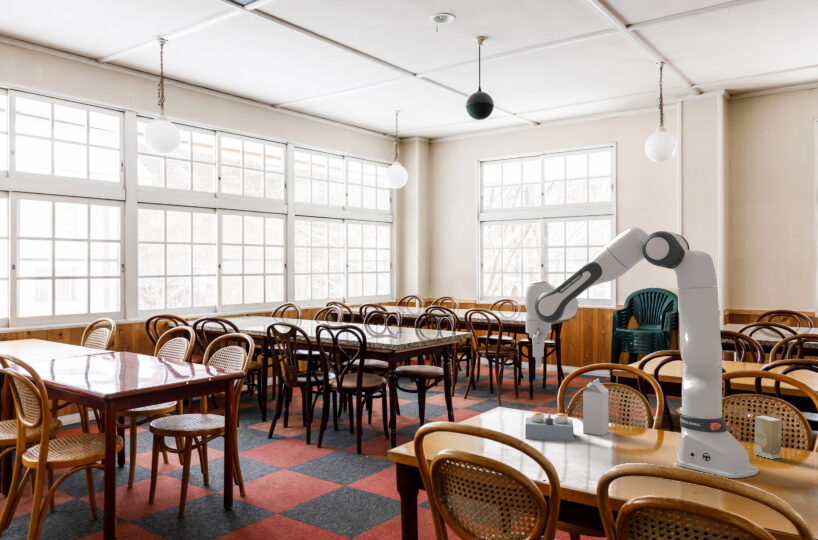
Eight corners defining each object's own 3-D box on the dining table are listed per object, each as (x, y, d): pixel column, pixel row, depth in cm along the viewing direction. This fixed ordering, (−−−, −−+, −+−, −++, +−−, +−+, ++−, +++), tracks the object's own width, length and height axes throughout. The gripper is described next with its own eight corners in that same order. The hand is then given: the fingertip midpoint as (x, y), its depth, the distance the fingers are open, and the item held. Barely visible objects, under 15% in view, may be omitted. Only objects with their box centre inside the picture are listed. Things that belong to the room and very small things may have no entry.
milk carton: (608, 431, 227) (608, 379, 227) (603, 436, 221) (603, 382, 221) (588, 429, 231) (588, 377, 231) (582, 433, 225) (583, 380, 225)
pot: (552, 423, 219) (552, 413, 219) (553, 425, 217) (553, 415, 217) (545, 422, 220) (545, 413, 220) (545, 424, 217) (545, 414, 217)
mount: (572, 433, 225) (572, 419, 225) (573, 441, 215) (573, 426, 215) (526, 431, 228) (526, 417, 228) (525, 438, 218) (525, 424, 218)
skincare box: (753, 455, 199) (753, 416, 199) (763, 453, 200) (763, 414, 200) (772, 460, 193) (772, 420, 193) (782, 459, 195) (782, 419, 195)
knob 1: (543, 433, 224) (543, 411, 224) (543, 436, 220) (543, 414, 220) (531, 432, 225) (531, 411, 225) (530, 436, 220) (530, 414, 221)
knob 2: (567, 434, 222) (567, 413, 222) (567, 438, 218) (567, 415, 218) (554, 434, 223) (554, 412, 223) (554, 437, 219) (554, 415, 219)
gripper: (547, 330, 212) (547, 371, 212) (547, 325, 232) (547, 363, 232) (528, 330, 214) (528, 371, 214) (529, 325, 234) (529, 362, 234)
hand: (538, 367), depth 223 cm, fingers closed
